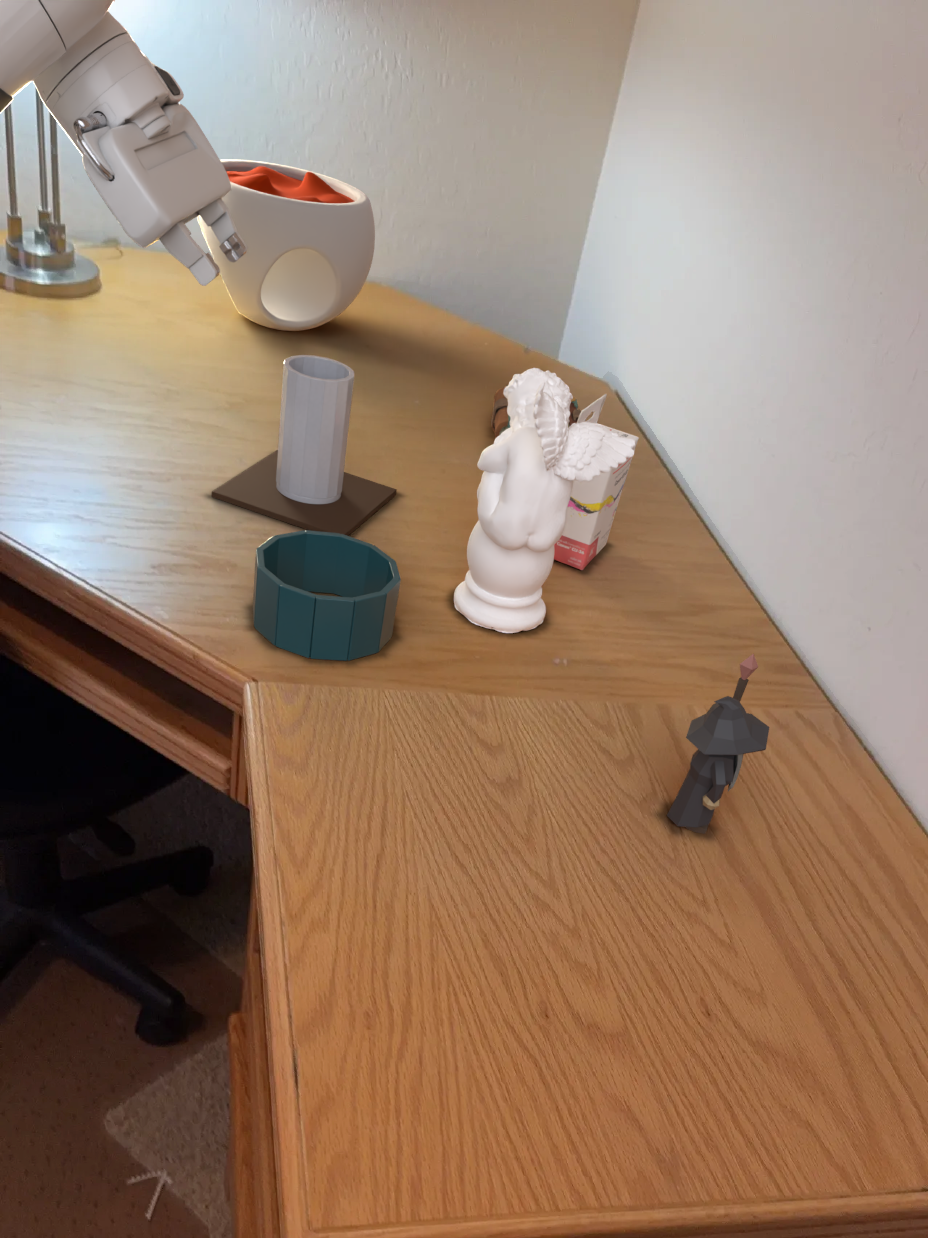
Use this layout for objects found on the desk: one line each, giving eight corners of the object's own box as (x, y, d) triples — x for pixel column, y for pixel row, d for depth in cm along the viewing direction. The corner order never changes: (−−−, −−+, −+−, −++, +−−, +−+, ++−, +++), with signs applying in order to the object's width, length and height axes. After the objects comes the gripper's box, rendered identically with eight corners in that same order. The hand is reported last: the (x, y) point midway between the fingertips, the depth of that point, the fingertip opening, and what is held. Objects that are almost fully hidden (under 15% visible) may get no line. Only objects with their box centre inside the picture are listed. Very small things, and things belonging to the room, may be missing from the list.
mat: (211, 497, 104) (211, 491, 103) (276, 454, 114) (277, 449, 114) (341, 541, 102) (342, 535, 102) (396, 494, 112) (397, 489, 112)
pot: (394, 331, 154) (412, 191, 143) (306, 364, 137) (318, 207, 125) (255, 282, 159) (261, 143, 147) (152, 307, 142) (151, 151, 130)
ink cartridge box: (584, 572, 107) (625, 427, 98) (539, 556, 108) (575, 410, 98) (609, 544, 114) (649, 405, 104) (566, 528, 114) (603, 389, 105)
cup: (264, 490, 106) (271, 365, 98) (293, 470, 111) (303, 349, 103) (324, 510, 105) (336, 386, 97) (351, 489, 110) (365, 369, 102)
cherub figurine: (467, 572, 102) (516, 331, 88) (590, 608, 102) (659, 371, 87) (435, 628, 93) (483, 370, 79) (570, 668, 93) (643, 415, 78)
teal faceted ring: (227, 629, 86) (230, 568, 83) (291, 575, 95) (296, 517, 92) (357, 676, 85) (365, 615, 82) (410, 616, 94) (419, 560, 90)
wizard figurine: (733, 851, 78) (796, 716, 70) (661, 842, 77) (716, 705, 69) (709, 781, 84) (764, 651, 76) (642, 773, 83) (691, 640, 75)
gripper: (94, 93, 77) (222, 271, 84) (178, 73, 93) (279, 225, 100) (37, 149, 80) (165, 318, 87) (128, 120, 96) (230, 266, 103)
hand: (227, 268), depth 94 cm, fingers open, 8 cm apart
